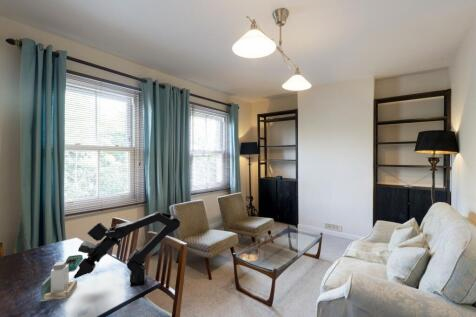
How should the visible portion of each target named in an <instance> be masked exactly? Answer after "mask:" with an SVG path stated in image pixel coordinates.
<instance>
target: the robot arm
mask: <svg viewBox="0 0 476 317" xmlns="http://www.w3.org/2000/svg"><path fill="white" fill-rule="evenodd" d="M180 220H181V219H180V217H179V216H178V215H176V214H174V215H173V214H169V213H165V212H162V211H159V210H158V211H155V212H154V213H152V214H148V215H146V216H143V217H141V218H139V219H136V220H133V221H129V222H128V221H127V222H122V223H119V224H117V225H116V226H111V227H108V228H107V227H106V226H105V225H104V224H102V222H101V221H99V222H98V223H97V224H96V225H94V226H93V227H92V228H90V230H89V231H88V232H87V233H86V234H87V235H89V237H91V238H92V239H93V240H94V241H95V242H98V243H96V244H95V243H93V242H89V241H87V240H84V241H82V243H80V245H79V247H78V249H77V251H78V252H80V253H83V254H86V255H87V257H84V258H82V260H81V261H80V262H79V264H78V270H77V271H76V272H75V274H74V276H73V278H74V279H77V278H80V277H82V276H85V275H87V274H91V273H92V272H93V271H94V270H95V268H96V265H97V264H96V263H99V262H100V260H101V259H102V258H104V256H105V257H106V255H107V254H108V252H109V251H111V249H113V247H114V246H115V245H116V246H117V247H120V246H121V244H122V239H124V238H125V237H127V236H128V235H130V234H132V232H135V231H136V230H139V229H141V228H143V227H146V226H148V225H149V226H150V224H154V223H156V222H158V223H159V222H160V223H161V224H162V225H163V226H162V228H161V229H160V230H159V231H158V232H157V233H155V235H154V236H153V237H152V238H151V239H150V240H149V241H148V242H147V243H145V245H143V247H142V248H140V249H138V248H135V249H134V251H133V252H132V253H130V254H129V257H128V260H127V263H126V267H127V269H128V270H129V271H130V274H129V283H130V285H129V287H135V286H136V287H138V286H144V285H145V284H146V281H147V277H146V276H147V275H146V274H147V271H146V264H147V263H146V260H145V258H146V257H147V256H148V255H149V254H150V253H151V252H152V251H153V250H154V249H155V248H156V247H157V246H158V245H159V244H160V243H161V241H163V240H164V239H165V237H167V236H168V235H170V234H172V233H174V232H175V231H176V230H177V229H179V227H181V221H180ZM99 241H100V242H99Z"/></svg>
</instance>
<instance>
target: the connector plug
mask: <svg viewBox="0 0 476 317" xmlns="http://www.w3.org/2000/svg"><path fill="white" fill-rule="evenodd" d="M69 272H70V270H69V264H68V265H66V260H65V261H57V262H56V263H55V264H54V265H53V268H52V269H51V271H50V275H51V293H56V292H63V291H67V289H68V288H69V281H70V277H69V276H70V275H69Z"/></svg>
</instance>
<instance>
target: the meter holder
mask: <svg viewBox="0 0 476 317" xmlns="http://www.w3.org/2000/svg"><path fill="white" fill-rule="evenodd" d="M77 285H78V280H77V279H75V280H73V279H71V280H69V288H68V289H67V291H63V292H56V293H51V274H50V275H49V276H48V277H47V278H46V279H45V280H44V281H43V283H41V284H40V286H41V287H40V290H41V292H40V293H41V294H40V295H41V296H40V297H41V298H40V302H45V301H53V300H61V299H68V298H69V297H70V296H71V295H72V293H73V291H74V290H76V287H77Z"/></svg>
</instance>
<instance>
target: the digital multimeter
mask: <svg viewBox="0 0 476 317" xmlns="http://www.w3.org/2000/svg"><path fill="white" fill-rule="evenodd" d="M83 259H84V258H83V255H82V254H76V255H75V254H74V255H69V256H67V258H66V260H65V261H66V265H68V264H69V271H74V270H76V269H77V268H78V267H79V264H80V262H81V261H82V260H83Z"/></svg>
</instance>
